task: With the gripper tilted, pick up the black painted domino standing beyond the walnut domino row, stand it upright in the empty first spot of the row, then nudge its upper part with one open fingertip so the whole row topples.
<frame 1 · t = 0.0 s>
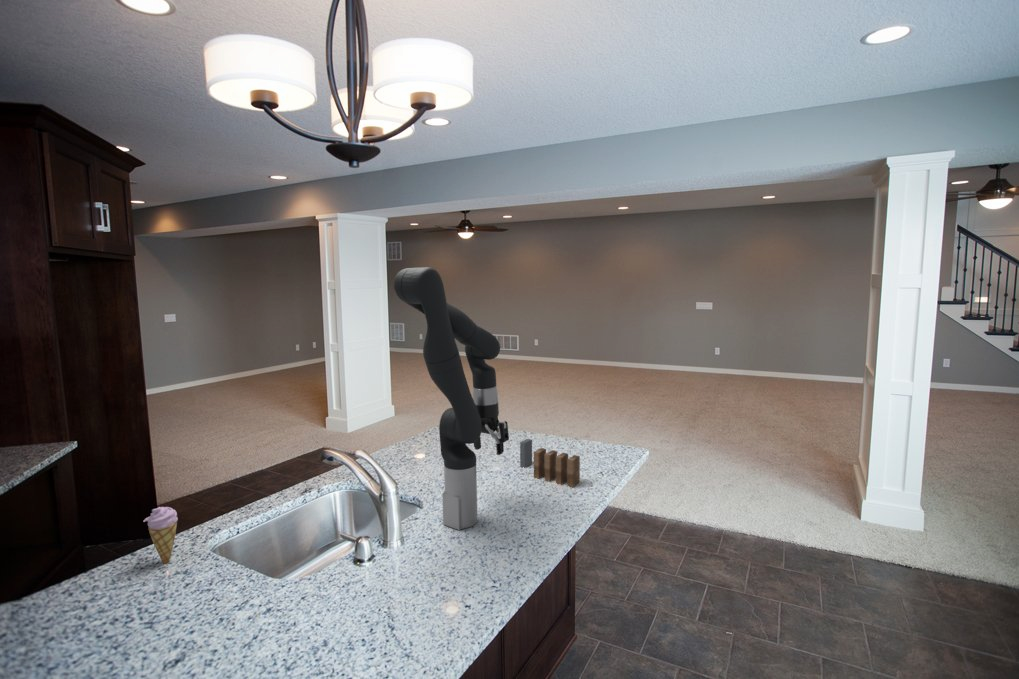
hand: (488, 451, 157), 17 cm above the countertop, tool pointing down, fingers open, 8 cm apart
domino 4: (562, 481, 177), on the countertop
domino 2: (540, 476, 182), on the countertop
domino 5: (573, 484, 174), on the countertop
ice cream cone: (165, 562, 129), on the countertop
domino 1: (526, 465, 193), on the countertop
domino 3: (550, 478, 179), on the countertop
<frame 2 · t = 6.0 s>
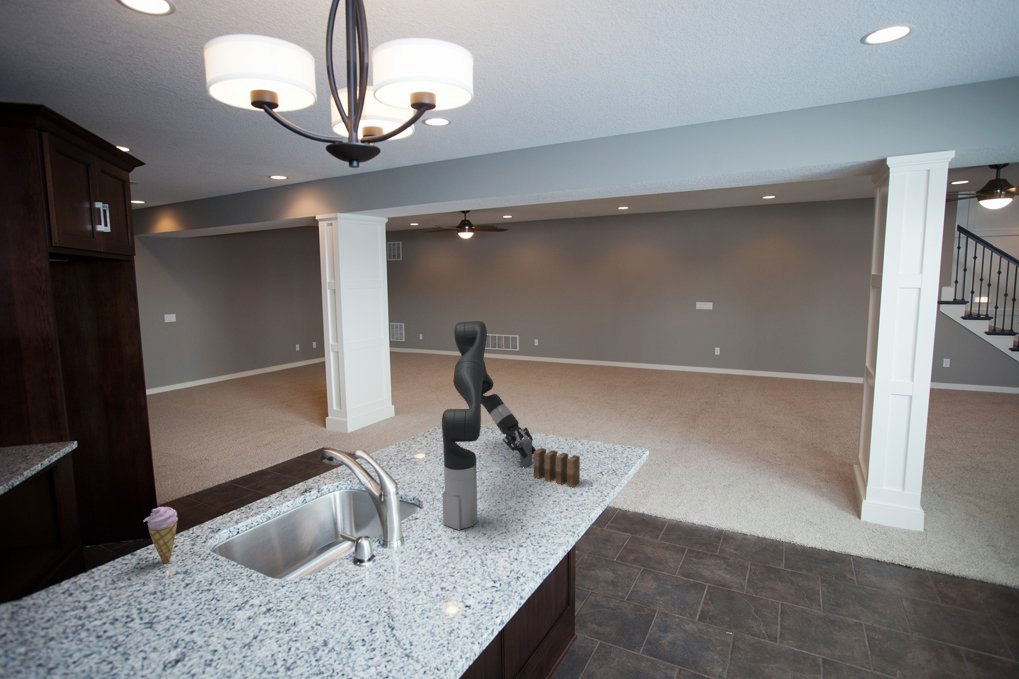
hand: (530, 455, 191), 4 cm above the countertop, tool tilted 45°, fingers closed on domino 1, 5 cm apart
domino 1: (526, 465, 193), on the countertop, touching gripper
everything else where it was.
when the fingers open (5 cm above the countertop, at t = 10.6 s): domino 1 stays where it is, on the countertop.
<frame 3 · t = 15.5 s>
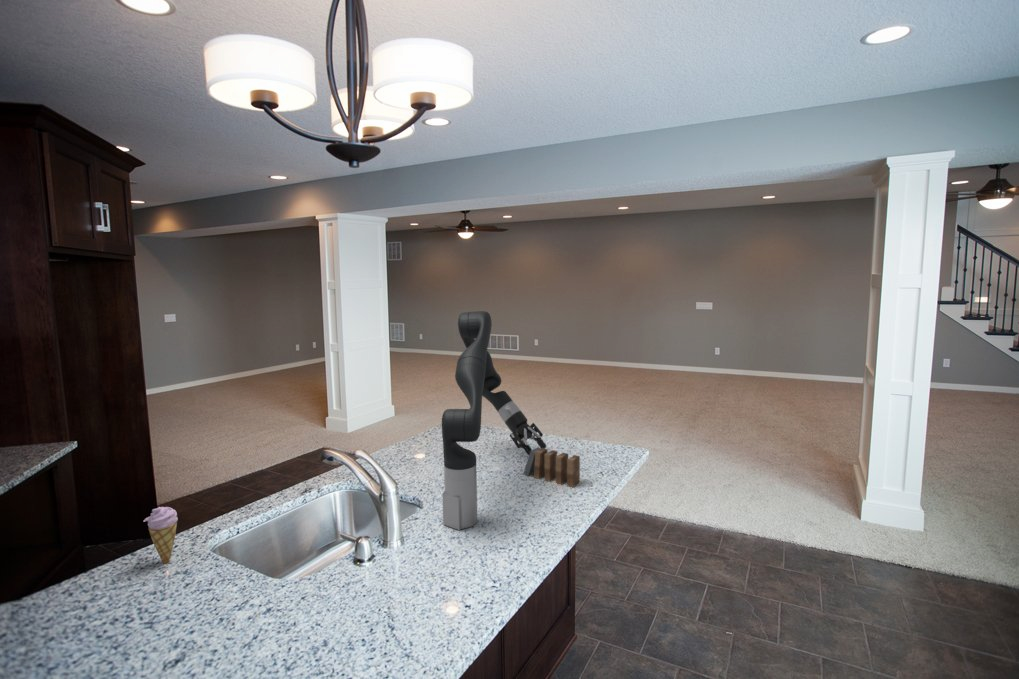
hand: (538, 451, 187), 7 cm above the countertop, tool tilted 45°, fingers open, 8 cm apart
domino 1: (529, 472, 185), on the countertop, tilted 19°
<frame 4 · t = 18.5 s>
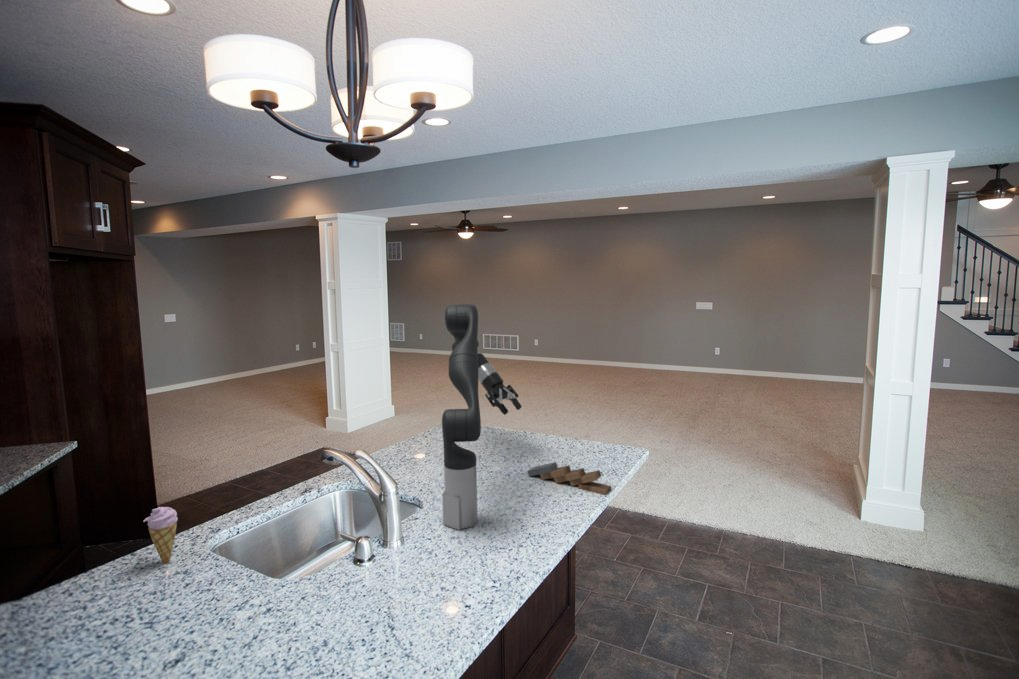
hand: (513, 410, 192), 21 cm above the countertop, tool tilted 45°, fingers open, 8 cm apart
domino 4: (573, 480, 175), point 1 cm above the countertop, tilted 68°, touching domino 3, domino 5
domino 2: (544, 474, 181), point 1 cm above the countertop, tilted 68°, touching domino 1, domino 3
domino 5: (581, 485, 173), on the countertop, tilted 90°, touching domino 4
domino 1: (531, 471, 184), point 1 cm above the countertop, tilted 68°, touching domino 2
domino 3: (558, 478, 178), point 1 cm above the countertop, tilted 68°, touching domino 2, domino 4
everything else where it was.
at the end: domino 5 tilted 90°; domino 3 tilted 68°; domino 1 inside the target area (0.6 cm from its centre), point 0.9 cm above the countertop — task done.
